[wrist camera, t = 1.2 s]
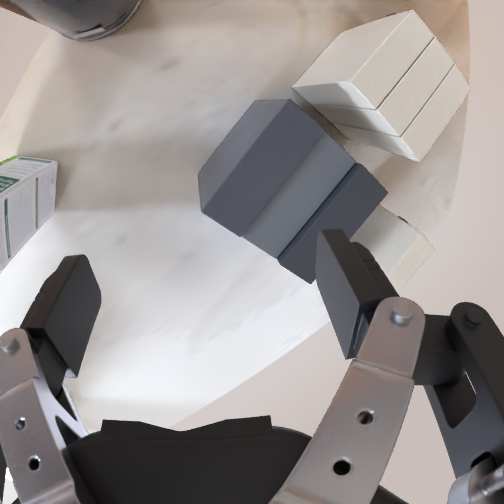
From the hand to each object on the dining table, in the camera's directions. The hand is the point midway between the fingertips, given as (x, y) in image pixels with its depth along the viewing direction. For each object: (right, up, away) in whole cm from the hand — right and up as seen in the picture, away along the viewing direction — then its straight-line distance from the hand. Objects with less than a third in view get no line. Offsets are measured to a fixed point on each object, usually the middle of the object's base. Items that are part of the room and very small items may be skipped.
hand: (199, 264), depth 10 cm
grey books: (+3, +9, +20) cm, 22 cm away
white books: (+11, +17, +17) cm, 27 cm away
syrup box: (-21, +7, +16) cm, 27 cm away
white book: (+11, +3, +24) cm, 27 cm away
